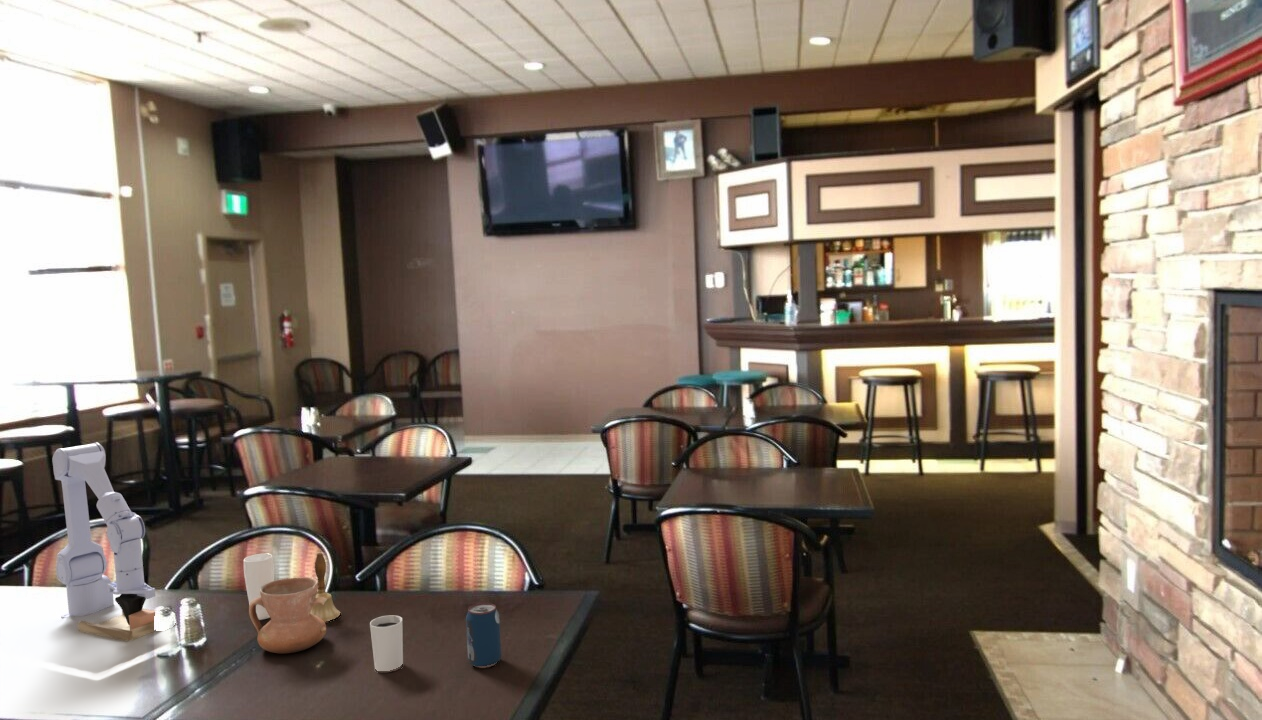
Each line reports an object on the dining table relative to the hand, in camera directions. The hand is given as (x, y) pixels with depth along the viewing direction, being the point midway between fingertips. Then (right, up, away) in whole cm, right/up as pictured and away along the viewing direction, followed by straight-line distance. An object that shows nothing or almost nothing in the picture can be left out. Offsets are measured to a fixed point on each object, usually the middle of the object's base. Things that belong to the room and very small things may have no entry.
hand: (133, 623), depth 210 cm
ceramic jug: (+42, -2, -11) cm, 43 cm away
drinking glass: (+27, -1, +8) cm, 28 cm away
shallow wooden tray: (-2, -2, +1) cm, 3 cm away
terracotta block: (+3, -1, -1) cm, 4 cm away
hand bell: (+43, 0, +6) cm, 43 cm away
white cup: (+68, -2, -24) cm, 72 cm away
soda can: (+88, -1, -24) cm, 91 cm away
